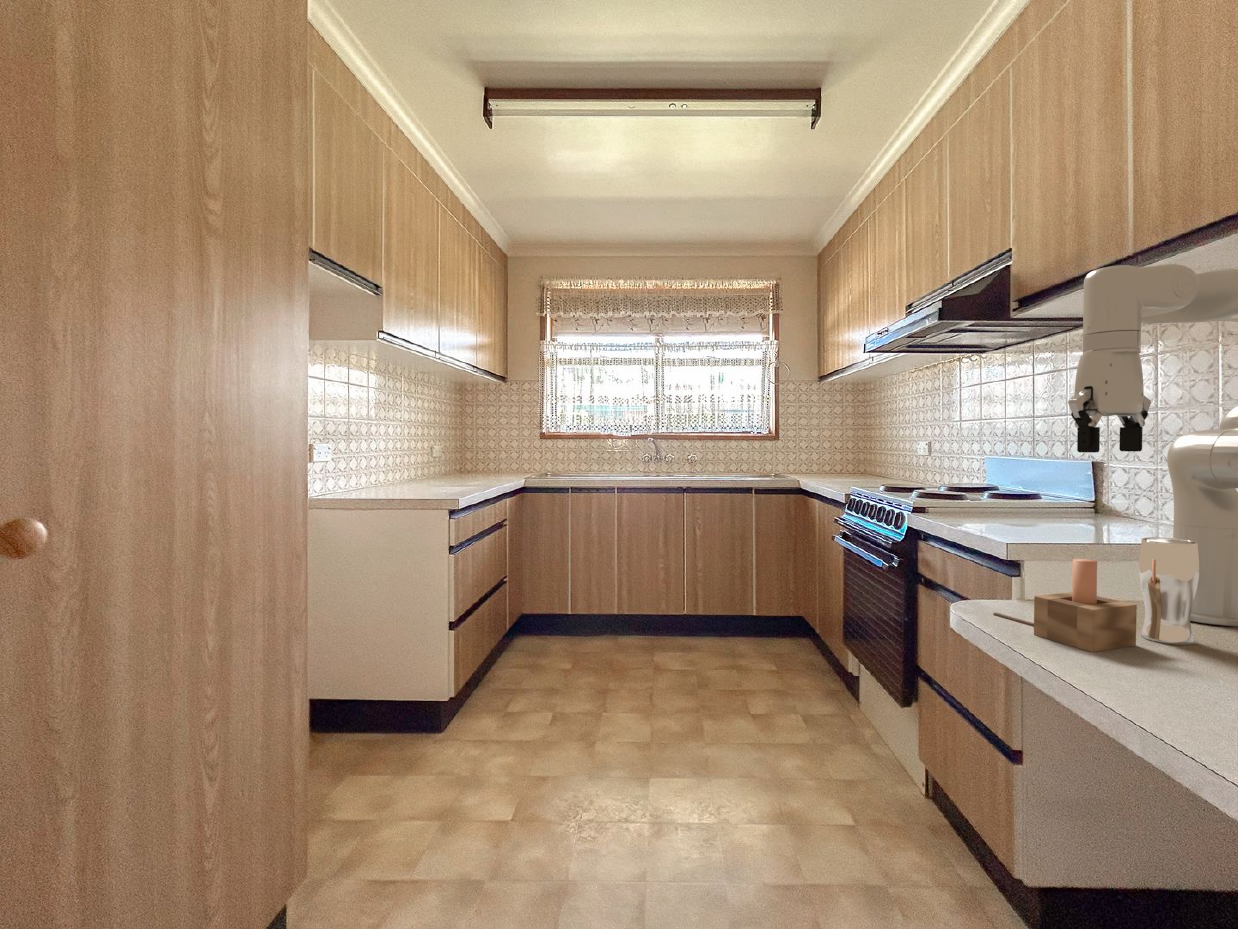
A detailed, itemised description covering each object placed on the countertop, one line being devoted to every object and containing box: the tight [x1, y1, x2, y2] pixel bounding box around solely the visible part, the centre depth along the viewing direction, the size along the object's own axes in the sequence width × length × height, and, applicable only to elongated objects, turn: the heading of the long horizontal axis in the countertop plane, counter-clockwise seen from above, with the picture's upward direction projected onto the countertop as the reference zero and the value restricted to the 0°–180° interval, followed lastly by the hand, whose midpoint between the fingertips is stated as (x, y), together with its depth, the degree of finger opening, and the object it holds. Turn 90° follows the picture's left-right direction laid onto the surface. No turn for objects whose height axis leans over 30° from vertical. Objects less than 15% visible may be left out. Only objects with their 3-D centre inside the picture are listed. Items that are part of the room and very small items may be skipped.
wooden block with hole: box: [1033, 591, 1138, 653], centre depth 99 cm, size 9×9×6 cm
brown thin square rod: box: [992, 612, 1034, 627], centre depth 109 cm, size 1×10×1 cm, turn 19°
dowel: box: [1071, 558, 1098, 605], centre depth 99 cm, size 3×3×12 cm
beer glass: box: [1138, 536, 1199, 646], centre depth 99 cm, size 7×7×15 cm
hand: (1109, 451), depth 107 cm, fingers open, 9 cm apart
